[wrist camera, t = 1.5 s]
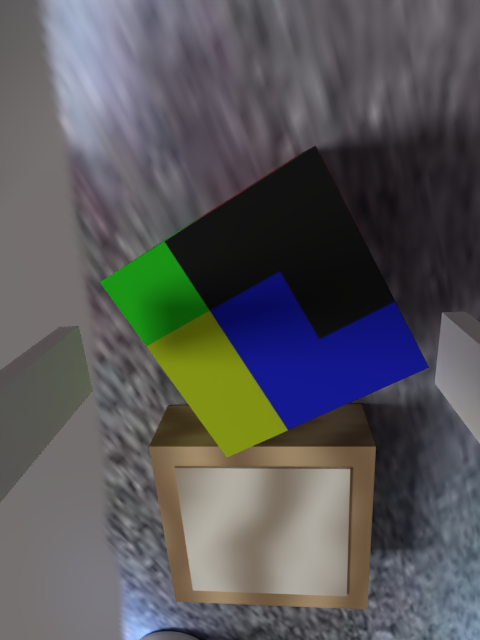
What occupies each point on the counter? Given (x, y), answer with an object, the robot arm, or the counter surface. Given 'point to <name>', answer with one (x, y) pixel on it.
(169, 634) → the supplement tub
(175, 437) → the oak picture frame
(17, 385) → the robot arm
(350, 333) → the puzzle toy
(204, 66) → the counter surface
